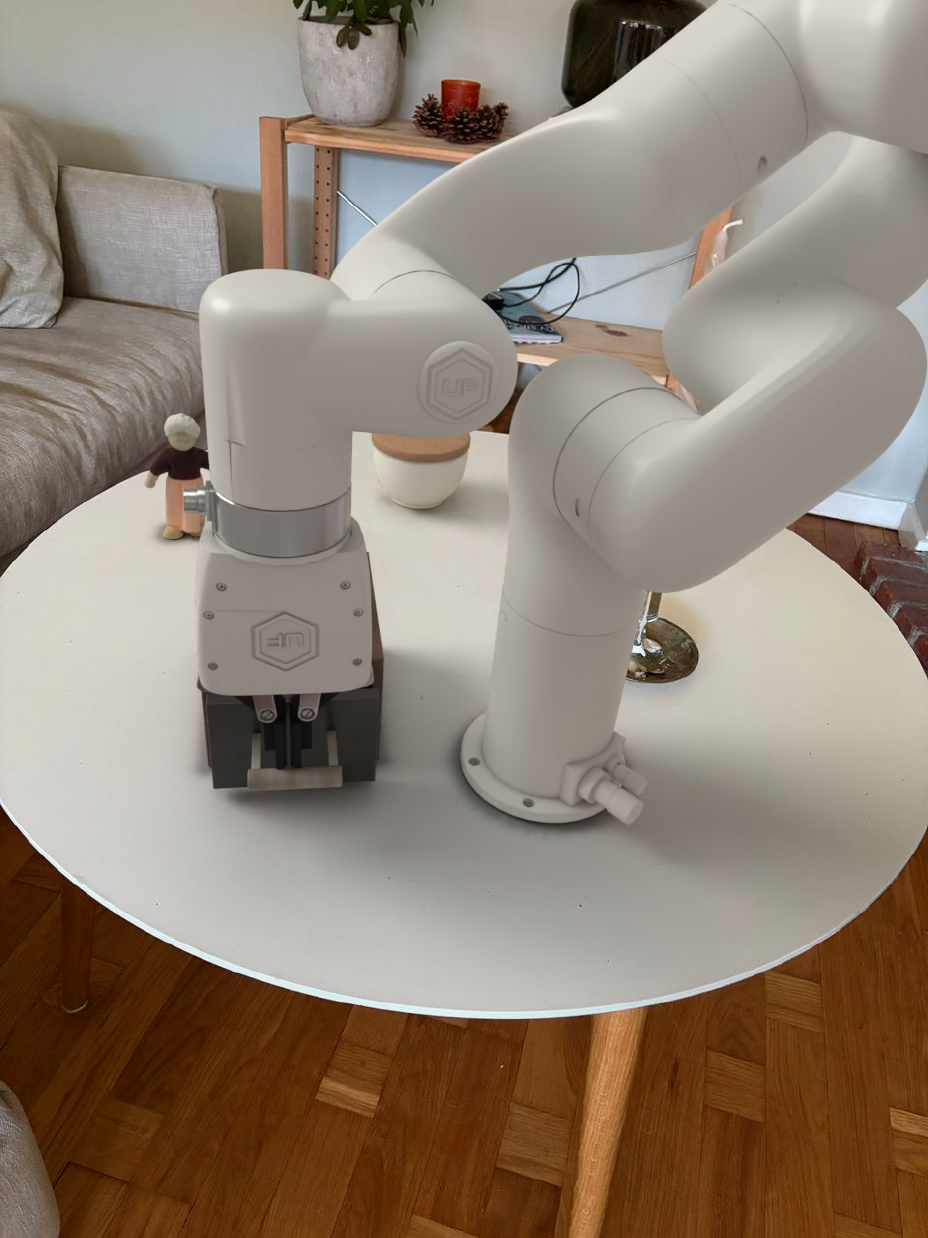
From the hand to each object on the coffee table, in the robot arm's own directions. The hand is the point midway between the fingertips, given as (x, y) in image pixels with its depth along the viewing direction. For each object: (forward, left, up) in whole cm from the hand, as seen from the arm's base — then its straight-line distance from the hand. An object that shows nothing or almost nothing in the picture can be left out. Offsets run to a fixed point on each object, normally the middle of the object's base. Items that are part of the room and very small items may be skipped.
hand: (288, 753), depth 63 cm
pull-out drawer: (+5, -4, -5) cm, 9 cm away
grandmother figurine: (+38, -16, -6) cm, 42 cm away
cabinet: (+10, -8, -6) cm, 14 cm away
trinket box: (+30, -40, -6) cm, 51 cm away
